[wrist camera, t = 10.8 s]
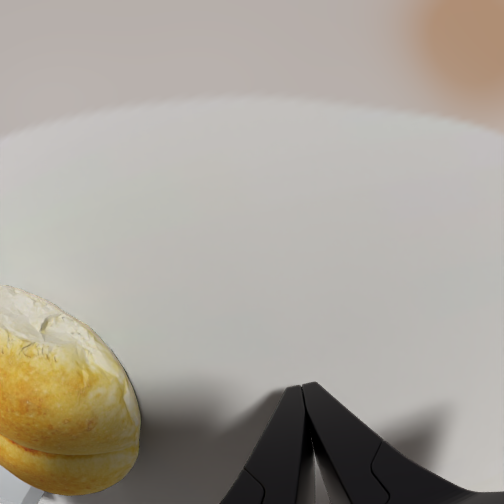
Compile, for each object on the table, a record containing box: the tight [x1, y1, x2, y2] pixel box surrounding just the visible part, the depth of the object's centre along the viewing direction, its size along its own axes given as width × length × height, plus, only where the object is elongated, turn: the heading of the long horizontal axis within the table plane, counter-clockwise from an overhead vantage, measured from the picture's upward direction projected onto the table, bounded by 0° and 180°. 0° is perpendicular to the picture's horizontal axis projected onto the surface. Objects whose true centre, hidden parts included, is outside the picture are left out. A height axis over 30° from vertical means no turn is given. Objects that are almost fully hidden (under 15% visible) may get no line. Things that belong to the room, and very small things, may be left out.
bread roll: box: [0, 285, 141, 496], centre depth 8 cm, size 8×9×4 cm
